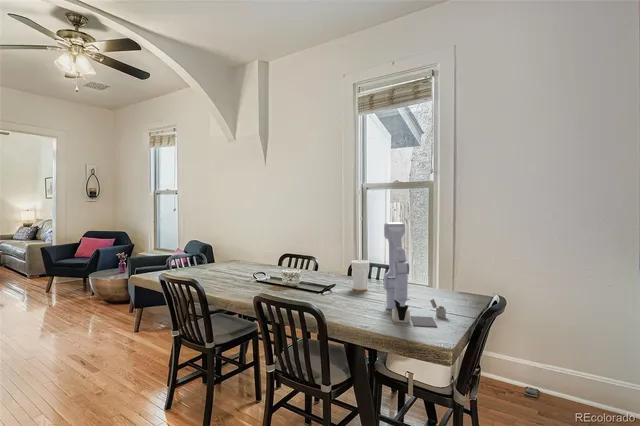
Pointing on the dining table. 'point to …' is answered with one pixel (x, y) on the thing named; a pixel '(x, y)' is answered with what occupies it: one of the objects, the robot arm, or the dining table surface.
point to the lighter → (439, 309)
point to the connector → (396, 318)
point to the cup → (360, 274)
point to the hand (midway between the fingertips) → (400, 317)
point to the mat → (423, 321)
